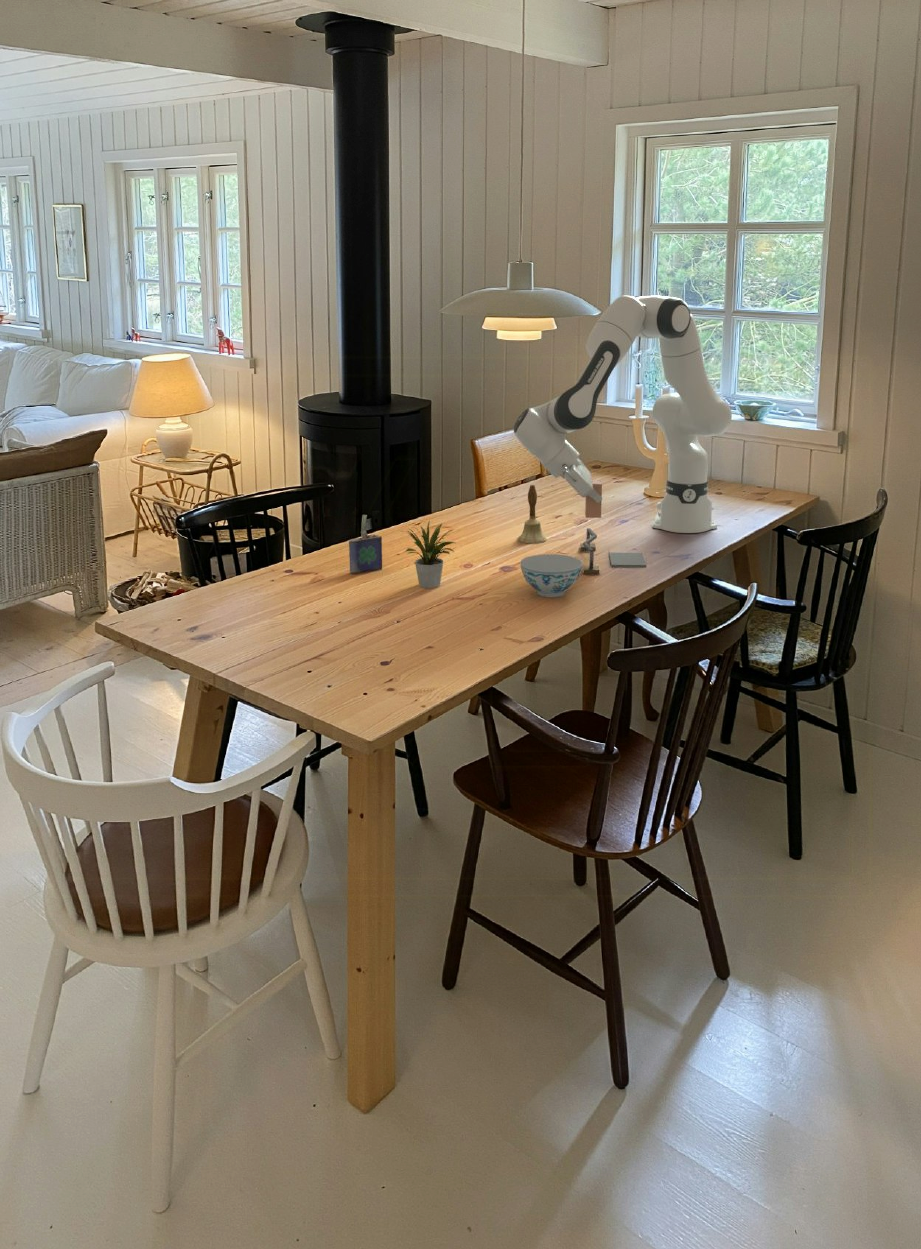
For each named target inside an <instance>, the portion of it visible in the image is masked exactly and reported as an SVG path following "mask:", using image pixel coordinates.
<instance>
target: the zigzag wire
mask: <svg viewBox="0 0 921 1249" xmlns="http://www.w3.org/2000/svg"><path fill="white" fill-rule="evenodd" d="M597 538H598V535H597V534H596V533H595V532H594V531H593V530H592V529H591V528H590V527H587V528H586V539H585V541H584V542H583V543H580V545H579V546H580V547H581V548H580V552H589V565H582V571H583V575H600V565H594V559H595V556H594V555H595V554H594V553H595V551H596V549H597V548H596V543H592V542H593V541H595V540H596V539H597Z"/></svg>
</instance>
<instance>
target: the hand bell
mask: <svg viewBox="0 0 921 1249" xmlns="http://www.w3.org/2000/svg"><path fill="white" fill-rule="evenodd" d="M537 500H538V494H537V489H536V486H535V484H531V485H530V486H529V488H528V491H527V502H528V505H529V519H527V520H525V521H524V526H523V530H522V532H521V534H520V535H519V536H518V538H517V540H518V542H520V543H524V544H528V545H529V544H533V545H534V544H542V543H545V542H546V541H547V537H546V536H545V534H543V532H542V527H541V521H540V520H538V519H537V517H536V504H537Z"/></svg>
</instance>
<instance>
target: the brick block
mask: <svg viewBox="0 0 921 1249" xmlns="http://www.w3.org/2000/svg"><path fill="white" fill-rule="evenodd" d="M592 485H593V488H594V490H595V491H596V492H597V493H599V494H600V495H601V496H602V497H603V492H602V491H603V483H602V480H592ZM602 501H603V499H602V500H601V501H600V502H599V503H597V502H596V501H595V500H594V499H593V498H591V497H590V496H588V495H587V496H586V497H585V508H584V509H585V510H584V514H585V518H586V519H590V518H591V519H594V518H595V519H602Z"/></svg>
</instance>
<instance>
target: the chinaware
mask: <svg viewBox="0 0 921 1249" xmlns="http://www.w3.org/2000/svg"><path fill="white" fill-rule="evenodd" d="M519 564H520V570H521V572H522V575H523V577H524V580H525V581H526V582H527V583H528V584H529V586H530V587H532V588H533V589H534V590H536V594H538V595H539V596H541V597H546V598H556V597H562V596H564V595H565V593H566V591H567V590H569V589H570V588H571V587H572V586H573V585H574V584H575V583H576V582H577V580H578V579H579V577H580V575H581V572H582V571H583V560H581V559H579V557H574V556H571V555H566V554H559V553H558V554H555V553H549V554H548V553H546V554H545V553H543V554H535V555H530V556H527V557H524V558H523V559H521V560H520V562H519Z"/></svg>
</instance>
